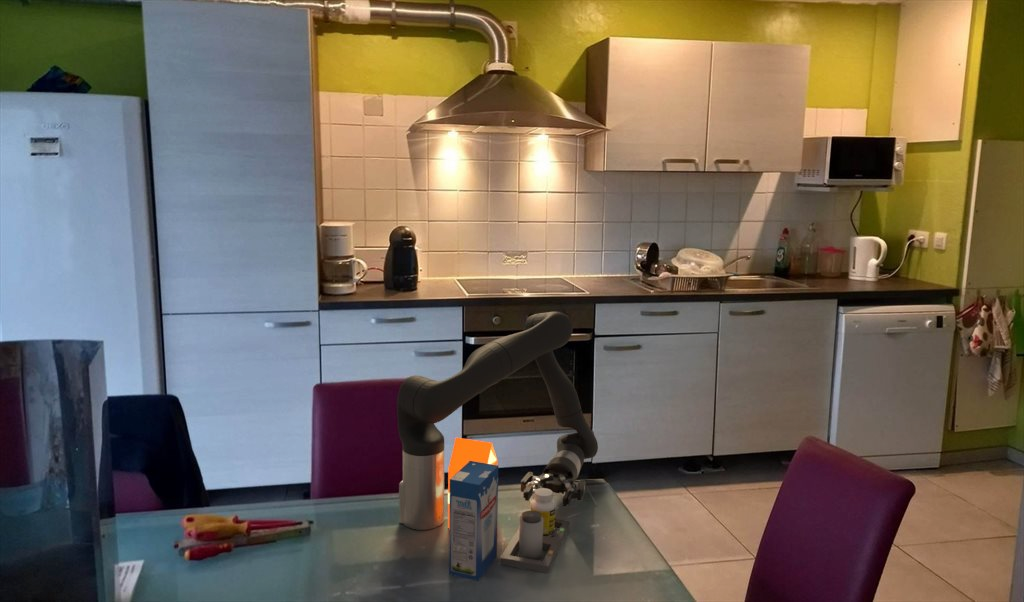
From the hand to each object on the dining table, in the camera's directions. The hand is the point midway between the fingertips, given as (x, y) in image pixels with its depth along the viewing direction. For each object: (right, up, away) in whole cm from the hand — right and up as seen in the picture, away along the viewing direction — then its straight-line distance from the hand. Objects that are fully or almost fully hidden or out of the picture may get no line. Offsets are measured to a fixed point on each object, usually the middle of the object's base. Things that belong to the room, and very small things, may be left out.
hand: (545, 499), depth 164 cm
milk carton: (-15, -10, -13) cm, 22 cm away
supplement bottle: (-1, -8, 0) cm, 8 cm away
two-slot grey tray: (-2, -8, -5) cm, 10 cm away
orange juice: (-16, -7, +4) cm, 18 cm away
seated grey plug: (-4, -9, -9) cm, 14 cm away
